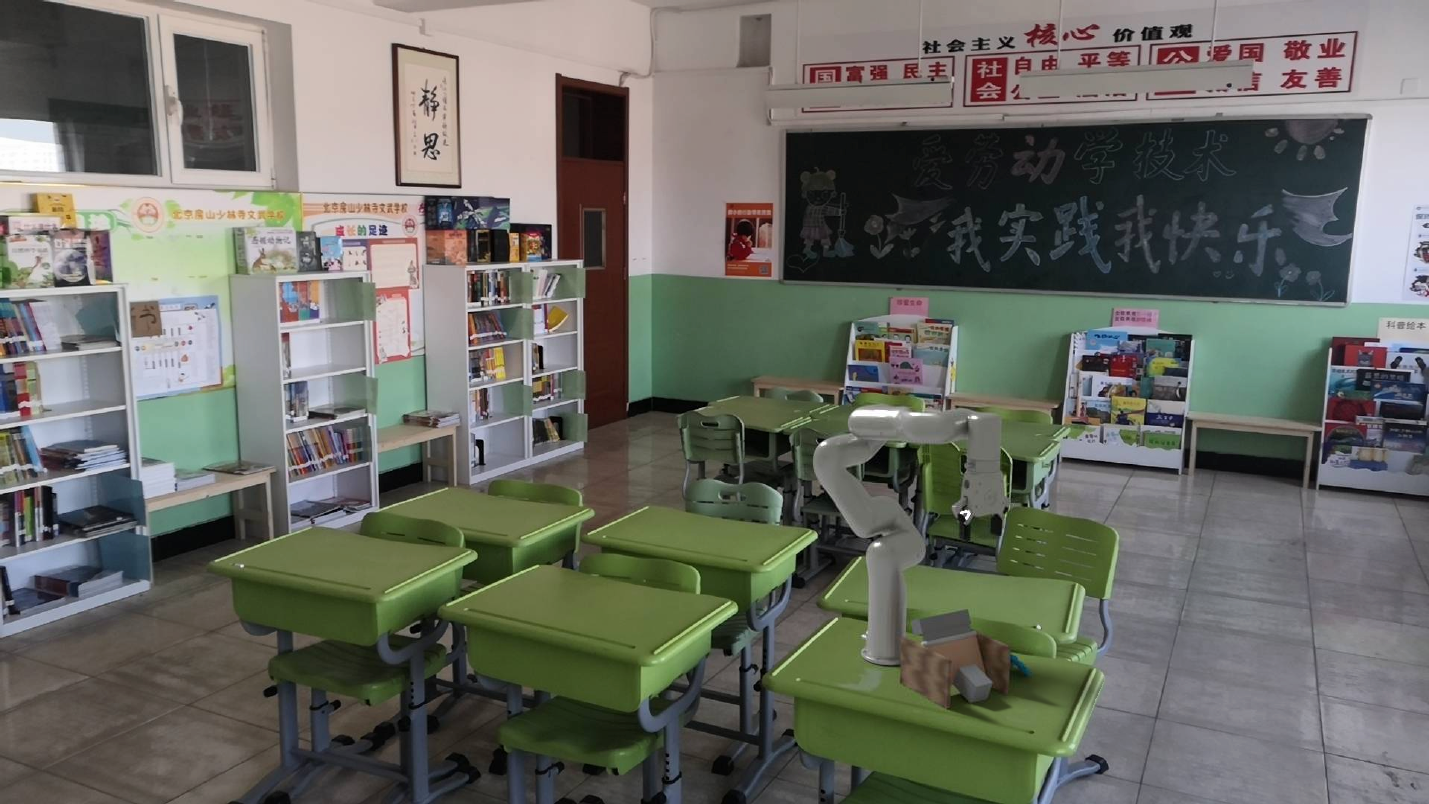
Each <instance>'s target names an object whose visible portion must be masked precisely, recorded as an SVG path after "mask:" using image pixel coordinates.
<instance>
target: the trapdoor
mask: <svg viewBox="0 0 1429 804" xmlns="http://www.w3.org/2000/svg"><path fill="white" fill-rule="evenodd" d="M909 622H910V625H911V628H912V629H911V630H912V634H913V636H918V635H921V636H922V641H921V643H920V644H921V645H923V646H925V647H927V648H929V649H931V650H932V651H934V652H936V653H938V654H940V655H942V656H944V657H946V658H948V659H950V660H952V668H951V686H954V685H953V683H954V680H955V677H956V674H957V671H958V668H961V667H965V666H969V665H973V664H975V665H976V666H977V667H978V668H979V669H980V670H981V671H982V672H983V673H984V674H985V675H986V673H985V669H984V665H983V661H982V657H981V653H980V649H979V645H978V641H977V637H976V636H977V633H976V631H977V630H975V631H971V629H972V628H971V625H972V621H971V617H970V613H969V609H962V610H957V611H951V612H946V613H941V614H937V615H934V616H928V617H922V618H917V619H913V620H910V621H909Z"/></svg>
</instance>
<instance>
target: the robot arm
mask: <svg viewBox="0 0 1429 804" xmlns="http://www.w3.org/2000/svg"><path fill="white" fill-rule="evenodd" d="M1002 423H1003V419H1002V417H1001V416H1000V415H999V414H998V413H994V412H979V411H975V410H972V409H970V408H969V409H968V408H963V407H959V408H953V409H947V410H941V411H937V412H921V411H920V412H919V411H918V412H917V411H915V412H914V411H912V409H911V408H909V407H908V406H902V405H901V406H896V405H895V406H891V405H889V404H887V403H875V404H874V403H873V404H870V405H869V404H868V405H863V406H860V407H857V408H855V410H853V411H851V413H850V415H849V417H848V420H847V427H848V430H849V431H850V433H846V434H841V435H837V436H836V435H835V436H832V437H829V438H827V439H824V440H823V441H821V442H820V443H819V444H818V445H817V446H816V449H815V450H814V452H813V459H812V463H813V464H812V465H813V466H812V467H813V471H814V474H815V476H816V479H817V480H818V482H819V484H820V485H821V486H822V488H823V489H824V490H825V491H826V492H827V494H828V495H829V496H830V498H831V499H832V501H833V503H834V504H835V506H836V508H837V509H838V510H839V512H840V514H841V515H842V517H843V518H844V520H845V521H846V523H847V525H848V526H849V527H850V529H851V530H852V532H853V533H854V534H855V535H856V536H857V537H859V538H863V539H867V538H872V537H875V536H877V535H882V536H880V537H877V539H875V540H874V541H872V542H871V543H870V544H869V546H868V548H867V550H866V552H865V553H866V554H865V564H866V567H867V575H868V610H867V611H868V615H867V616H868V617H867V620H868V621H867V631H866V632H865V634H862V635H861V639H862V640H864V641H865V646H864V647H863V648H862V649H861V651H860V653H861V655H860V656H861V657H862V658H863V659H864V660H865V661H867V662H870V663H872V664H876V665H881V666H899V665H900V664H901V637H907V636H906V635H907V633H906V632H907V631H906V630H907V604H908V601H907V597H908V596H907V595H908V594H907V591H908V590H907V584H906V581H905V578H904V574H903V573H904V572H903V571H904V570H907V569H909V568H912V567H915V566H917V565H918V564H919V563H921V562H922V561H923V560H924V558H925V556H926V549H927V548H926V545H925V540H924V539H923V537H922V535H921V534H920V532H919V531H918V529H917V527H916V526H915V525H914V523H913V522H912V520H911V519H910V517H909V516H908V514H907V513H906V510H904V508H903V506H901V504H900V503H899V502H898V501H896V500H895V499H894V498H892V497H891V496H886V495H878V496H874V497H872V496H871V495H870V494H869V493H868V491H867V490H866V489H865V487H864V486H863V484H862V483H861V481H860V480H859V479H858V478H857V477H855V476H854V475H853V474H851V473H850V472H849V471H848V470H847V468H849V467H853V466H858V465H861V464H864V463H866V462H868V461H869V460H871V459H872V458H873V457H874V456H875V455H876V454H877V453H878V452H879V450H880V449H881V448H882V447H883V446H884V445H885V444H886V442H887V441H895V442H897V441H898V442H900V441H901V442H906V443H910V444H917V445H919V444H922V445H926V444H927V445H946V444H949V443H954V442H957V441H965V440H967V444H966V445H967V449H966V463H965V462H964V465H963V466H964V468H965V469H966V471H965V472H964V475H963V478H962V479H963V480H962V485H961V493H960V499H959V500H958V501H957V502H955V503H953V504H952V506H951V510H952V513H953V518H955V519H956V520H957V523H959V530H958V537H959V538H958V539H960V540H962V541H965V542H970V541H971V530H972V529H971V528H972V526H971V524H970V522H971V520H972V519H973V517H984V516H990V527H989V528H990V529H989V530H990V531H989V532H990V534H992V535H994V536H998V537H1001V536H1002V535H1003V532H1002V531H1003V520H1004V519H1005V517H1006V516H1005V515H1006V514H1007V513H1008V511H1009V507H1010V505H1011V502H1012V499H1011V498H1010V497H1008V496H1006V494H1005V493H1006V492H1005V481H1004V474H1003V471H1002V470H1001V452H1002V451H1001V448H1002V427H1003V424H1002Z"/></svg>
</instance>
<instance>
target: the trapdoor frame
mask: <svg viewBox="0 0 1429 804" xmlns="http://www.w3.org/2000/svg"><path fill="white" fill-rule="evenodd" d="M971 631H976V633H977V636H976V637H977V641H978V645H979V649H980V653H981V657H982V661H983V665H984V669H985V673H986V676H987V677H988V678H989V679H990V680H991V681H992V682H993V684H992V686H991V688H992V689H994V690H996V691H998V692H1001V693H1002V694H1004V695H1007V694H1009V689H1010V671H1011V670H1010V669H1011V667H1010V653H1011V647H1012V645H1008V644H1007V643H1004V642H1002V641H999V640H997V639H995V638H993V637H991V636H989V635H986V634H985V633H982V632H980V631H977V630H975V629H973V628H971ZM951 668H952V660H950V659H948V658H946V657H944V656H942V655H940V654H938V653H936V652H934V651H932V650H931V649H929V648H927V647H925V646H923V645H921V643H919V642H917V641H914V640H913V639H911V638H909V637H907V636H906V637H901V664H900V667H899V669H900V671H899V672H900V673H899V683H900V684H901V685H902V686H904V685H905V686H904V687H906V688H908V687H909V688H908V689H910V688H911V689H912V690H911V689H910V690H911V691H913V690H914V692H915V691H916V692H915V693H917V694H918V693H920V694H922V695H923V696H922V695H921V696H922V697H924V696H926V697H927V698H929V699H931V700H932V701H931V700H930V701H931V702H933V701H934V702H936V703H937V704H936V703H935V704H936V705H938V706H940V705H941V706H942V708H943V707H944V709H945V708H946V709H945V710H949V709H948V708H950V709H951V690H952V685H951ZM920 694H919V695H920ZM926 697H925V698H926ZM927 698H926V699H927ZM929 699H928V700H929ZM934 702H933V703H934ZM941 706H940V707H941Z"/></svg>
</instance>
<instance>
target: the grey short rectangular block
mask: <svg viewBox="0 0 1429 804" xmlns="http://www.w3.org/2000/svg"><path fill="white" fill-rule="evenodd" d="M992 684H993V682H992V681H991V680H990V679H989V678H988V677H987V676H986V675H985V674H984V673H983V672H982V671H981V670H980V669H979V668H978V667H977V666H976V665H975V664H973V665H969V666H965V667H961V668H958V671H957V674H956V677H955V680H954V683H953V685H952V686H953V687H955V689H956V690H957V691H958V692H959V693H960V695H962V696H963V698H965V700H966V701H967V702H969V704H972V703H971V702H974V703H977V702H981V701H984V700H988V697H989V694H990V692H991V688H992V687H991V686H992Z"/></svg>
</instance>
